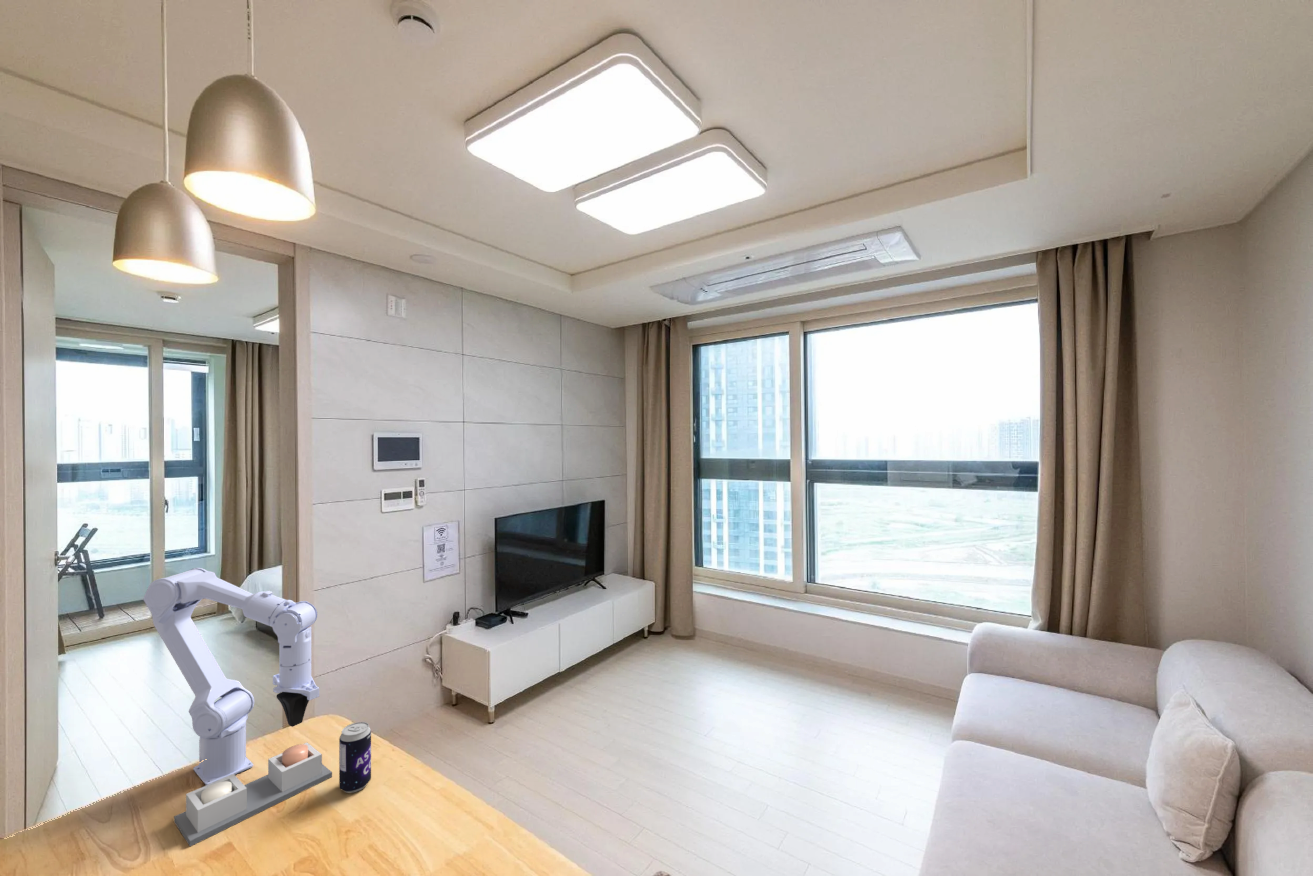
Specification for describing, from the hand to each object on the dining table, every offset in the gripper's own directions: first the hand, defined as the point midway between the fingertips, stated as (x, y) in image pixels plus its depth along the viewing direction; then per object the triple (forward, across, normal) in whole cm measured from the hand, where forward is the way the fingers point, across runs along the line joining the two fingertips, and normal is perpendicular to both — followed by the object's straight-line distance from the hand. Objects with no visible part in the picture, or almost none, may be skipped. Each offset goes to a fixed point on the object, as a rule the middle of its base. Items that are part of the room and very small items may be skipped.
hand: (295, 723), depth 113 cm
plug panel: (+10, +3, -8) cm, 13 cm away
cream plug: (+9, +2, -15) cm, 17 cm away
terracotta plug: (+8, +4, -2) cm, 9 cm away
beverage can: (+10, +16, +3) cm, 20 cm away
